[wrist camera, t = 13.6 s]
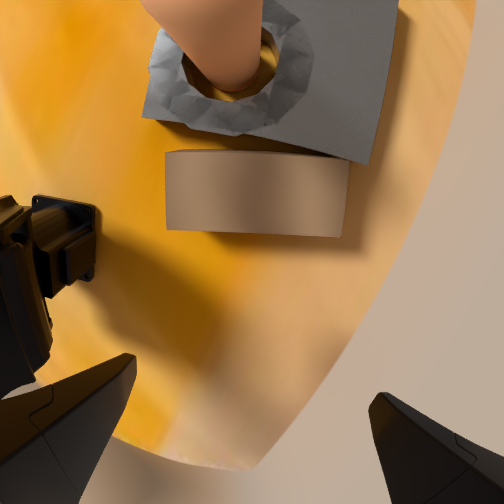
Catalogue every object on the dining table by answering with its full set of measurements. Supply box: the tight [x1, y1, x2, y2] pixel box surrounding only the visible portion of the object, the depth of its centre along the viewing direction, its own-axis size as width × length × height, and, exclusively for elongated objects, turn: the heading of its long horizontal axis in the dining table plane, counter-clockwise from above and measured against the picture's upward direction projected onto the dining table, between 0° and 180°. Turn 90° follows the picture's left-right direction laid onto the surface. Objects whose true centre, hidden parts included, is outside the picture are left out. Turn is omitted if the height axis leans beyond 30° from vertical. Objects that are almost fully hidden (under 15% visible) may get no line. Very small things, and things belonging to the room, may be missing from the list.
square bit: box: [165, 149, 350, 238], centre depth 18 cm, size 10×4×4 cm, turn 88°
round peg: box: [140, 0, 263, 92], centre depth 11 cm, size 4×4×12 cm
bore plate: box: [142, 0, 399, 166], centre depth 15 cm, size 14×14×2 cm
